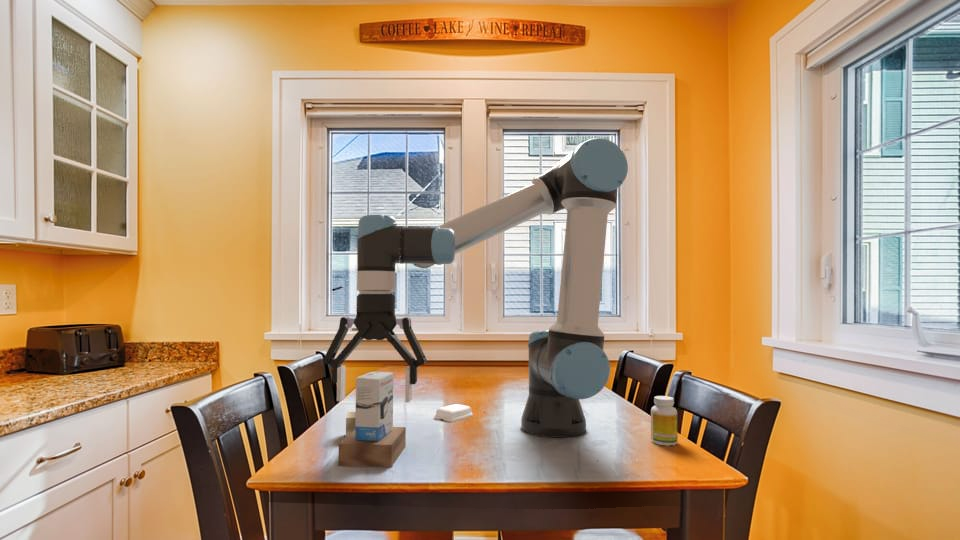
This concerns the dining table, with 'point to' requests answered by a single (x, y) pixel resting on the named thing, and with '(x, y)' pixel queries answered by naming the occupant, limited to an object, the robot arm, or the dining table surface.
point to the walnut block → (372, 449)
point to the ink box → (374, 406)
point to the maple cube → (350, 422)
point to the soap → (453, 412)
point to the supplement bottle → (664, 421)
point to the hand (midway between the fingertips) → (374, 400)
